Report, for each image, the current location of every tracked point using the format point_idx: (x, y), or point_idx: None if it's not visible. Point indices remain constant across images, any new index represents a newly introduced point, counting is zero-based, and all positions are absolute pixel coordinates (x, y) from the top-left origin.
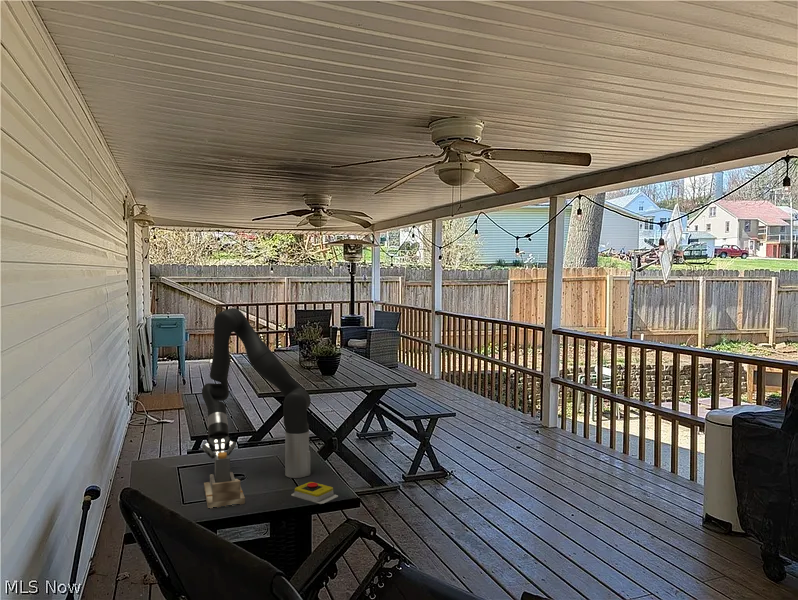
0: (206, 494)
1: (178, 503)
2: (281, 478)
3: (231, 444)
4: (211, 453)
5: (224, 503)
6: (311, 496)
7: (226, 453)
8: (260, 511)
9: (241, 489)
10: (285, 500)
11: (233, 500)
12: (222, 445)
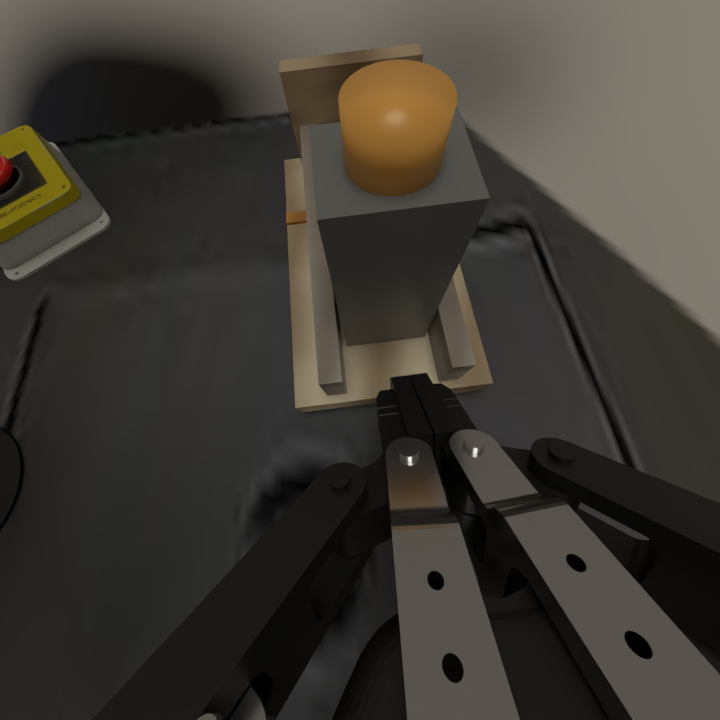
0: None
1: (550, 229)
2: (60, 447)
3: (204, 709)
4: (588, 461)
5: None
6: (51, 149)
7: (341, 93)
8: (249, 124)
9: (289, 244)
10: (148, 185)
11: None
12: (453, 627)
